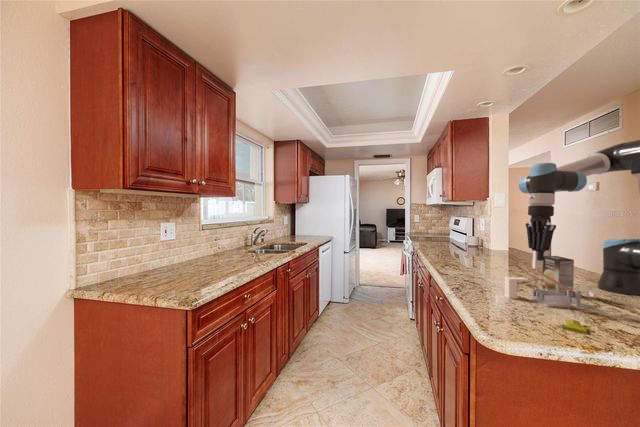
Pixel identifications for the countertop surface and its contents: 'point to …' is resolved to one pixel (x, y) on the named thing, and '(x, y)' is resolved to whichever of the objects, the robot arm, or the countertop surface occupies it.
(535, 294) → the heatsink
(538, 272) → the strap
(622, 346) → the countertop surface
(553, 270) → the coffee box
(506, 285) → the cream l-shaped bracket
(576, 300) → the board
